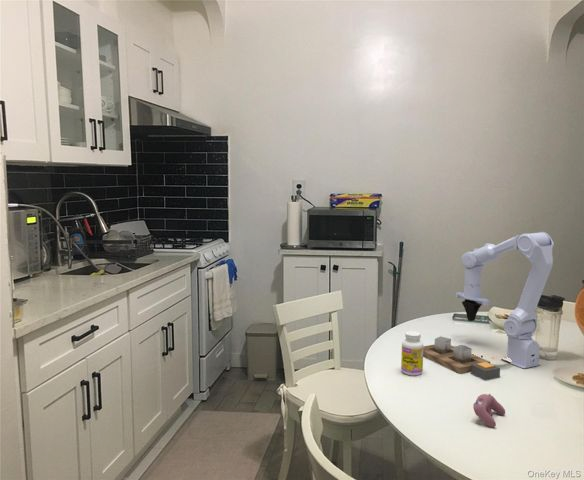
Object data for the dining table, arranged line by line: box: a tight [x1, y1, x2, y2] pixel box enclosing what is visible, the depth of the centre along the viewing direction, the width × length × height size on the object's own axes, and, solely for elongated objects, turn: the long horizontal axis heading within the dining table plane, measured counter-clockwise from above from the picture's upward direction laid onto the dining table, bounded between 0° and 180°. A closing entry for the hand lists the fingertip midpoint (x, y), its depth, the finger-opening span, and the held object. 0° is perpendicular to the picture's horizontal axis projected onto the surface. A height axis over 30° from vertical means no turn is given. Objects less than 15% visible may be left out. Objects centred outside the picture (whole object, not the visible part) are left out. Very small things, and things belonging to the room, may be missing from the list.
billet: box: [453, 344, 473, 364], centre depth 168 cm, size 4×4×6 cm
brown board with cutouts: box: [423, 343, 491, 375], centre depth 173 cm, size 22×13×2 cm, turn 25°
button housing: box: [470, 362, 501, 381], centre depth 159 cm, size 6×6×3 cm
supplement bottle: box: [400, 330, 424, 377], centre depth 161 cm, size 7×7×13 cm
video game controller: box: [472, 393, 506, 429], centre depth 131 cm, size 10×5×7 cm, turn 142°
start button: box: [477, 362, 495, 369], centre depth 159 cm, size 4×4×3 cm
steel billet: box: [433, 335, 452, 354], centre depth 177 cm, size 4×4×6 cm
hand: (471, 320), depth 187 cm, fingers closed
